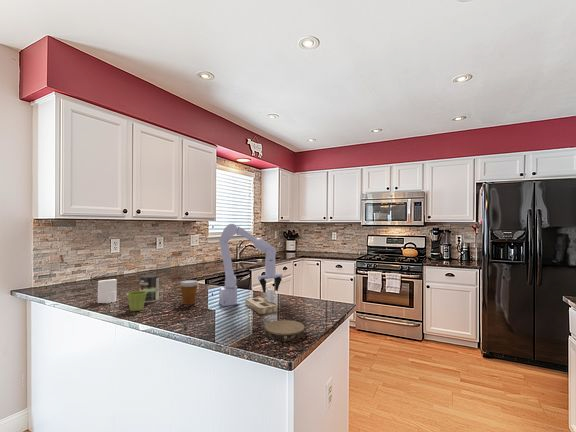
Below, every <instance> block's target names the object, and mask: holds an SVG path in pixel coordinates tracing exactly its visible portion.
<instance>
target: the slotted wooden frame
mask: <svg viewBox="0 0 576 432" xmlns="http://www.w3.org/2000/svg"><path fill="white" fill-rule="evenodd" d="M244 302H245V306H247V307H249V308H250V309H252V310H253V311H255V312H256V313H257V314H259V315H264V314H271V313H272V314H273V313H276V312H277V311H278V310H277V309H278V307H277V305H276V304H274V303H271V302H269V301H267V299H266V298H263V297H252V298H245V300H244Z"/></svg>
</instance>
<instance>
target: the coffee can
mask: <svg viewBox="0 0 576 432" xmlns="http://www.w3.org/2000/svg"><path fill="white" fill-rule="evenodd" d="M159 281H160V275H159V274H155V273H153V274H143V275H142V274H141V275H140V276H139V290H138V291H146V292H147V293H146V296H145V301H144V304H145V303H153V302H156V301H159V292H160V291H159V289H160V286H159V285H160V282H159Z"/></svg>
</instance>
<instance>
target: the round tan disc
mask: <svg viewBox="0 0 576 432" xmlns="http://www.w3.org/2000/svg"><path fill="white" fill-rule="evenodd" d="M264 334H265V336H266V337H267V338H268V339H271V340H274V341H279V342H280V341H281V342H289V341H290V342H292V341H296V340H299V339H302V338H303V337H305V325H304V324H303V323H301V322H298V321H295V320H288V319H287V320H286V319H284V320H283V319H282V320H273V321H270V322H268V323H266V325H265V326H264Z"/></svg>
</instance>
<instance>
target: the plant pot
mask: <svg viewBox="0 0 576 432" xmlns="http://www.w3.org/2000/svg"><path fill="white" fill-rule="evenodd" d="M146 293H147V292H146V291H139V290H135V291H130V292H126V296H127V299H128V306H129V311H130V312H136V311H137V312H138V311H142V310H143V309H144V306H145V303H144V301H145V296H146Z"/></svg>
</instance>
